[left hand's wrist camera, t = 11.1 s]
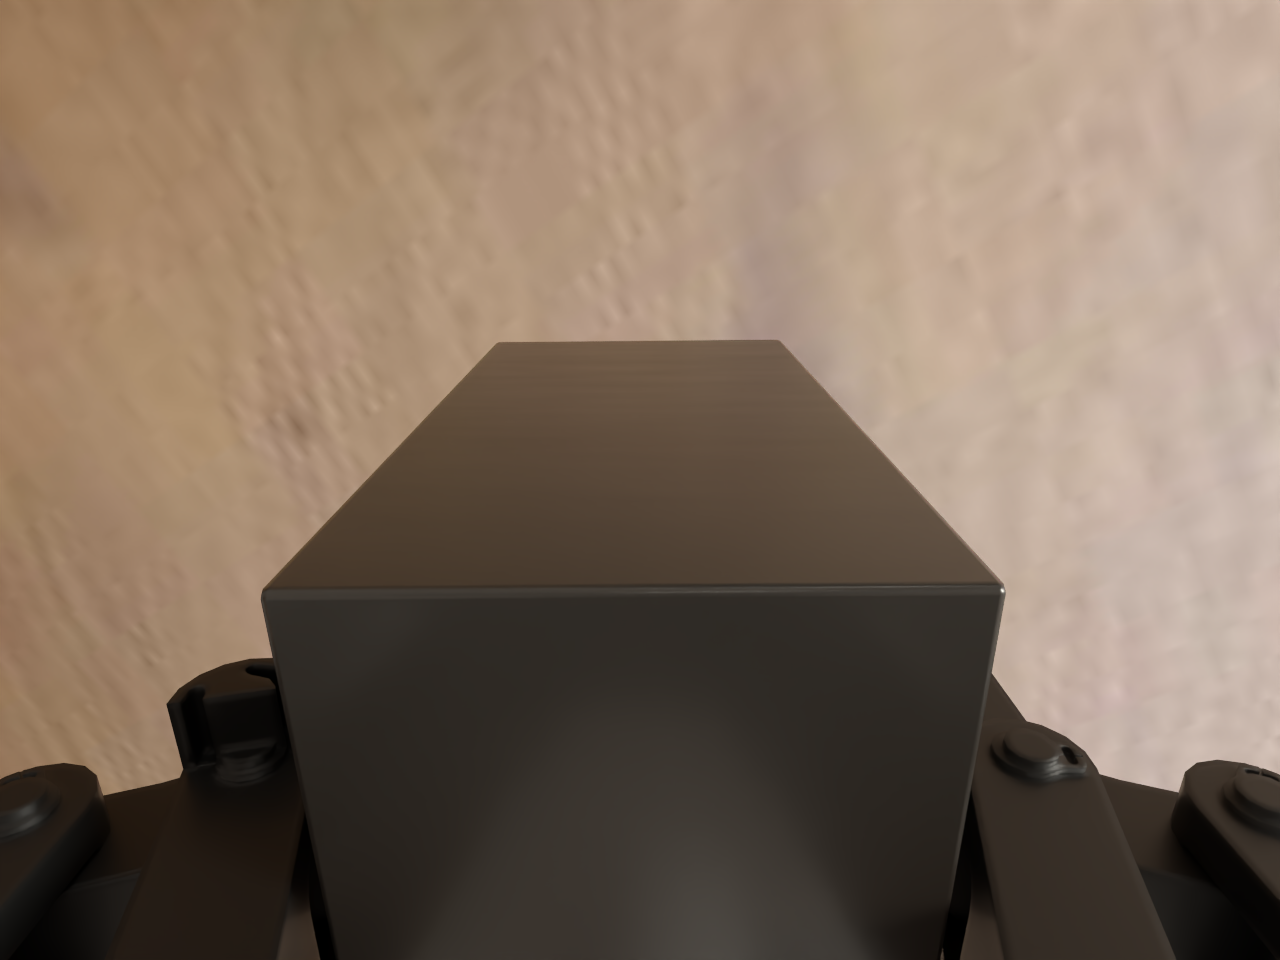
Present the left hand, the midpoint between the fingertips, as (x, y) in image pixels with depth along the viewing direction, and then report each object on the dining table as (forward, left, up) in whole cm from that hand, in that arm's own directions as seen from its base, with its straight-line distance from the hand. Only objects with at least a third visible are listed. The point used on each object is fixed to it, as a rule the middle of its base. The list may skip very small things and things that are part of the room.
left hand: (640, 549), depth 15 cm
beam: (+13, 0, 0) cm, 13 cm away
